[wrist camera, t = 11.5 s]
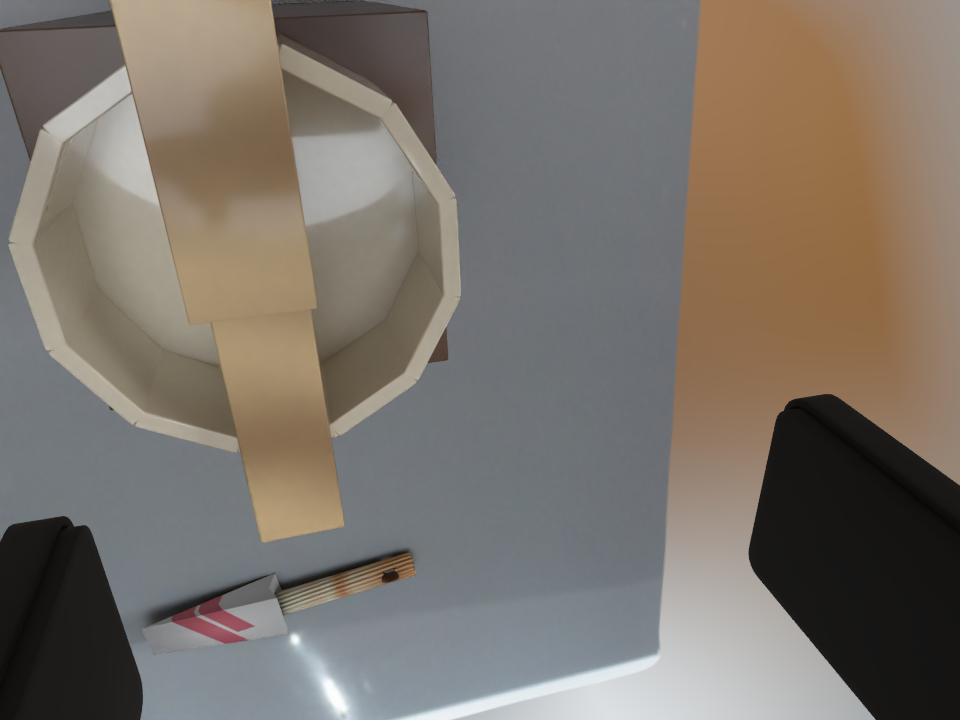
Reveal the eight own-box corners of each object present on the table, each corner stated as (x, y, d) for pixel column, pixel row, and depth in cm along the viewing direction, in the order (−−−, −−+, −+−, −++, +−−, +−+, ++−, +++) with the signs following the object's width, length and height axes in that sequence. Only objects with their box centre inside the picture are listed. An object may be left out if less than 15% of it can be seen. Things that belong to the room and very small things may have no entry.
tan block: (113, -83, 17) (84, -96, 14) (257, -86, 17) (255, -98, 15) (255, 525, 25) (254, 588, 22) (348, 508, 26) (357, 566, 23)
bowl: (7, 44, 21) (-60, 60, 17) (416, 24, 24) (449, 33, 19) (118, 400, 27) (90, 479, 23) (438, 353, 29) (467, 416, 25)
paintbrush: (136, 639, 50) (413, 557, 55) (140, 610, 53) (406, 534, 57) (153, 675, 52) (420, 594, 57) (156, 646, 55) (413, 570, 59)
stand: (107, 11, 36) (-13, 30, 21) (364, 0, 39) (427, 10, 24) (167, 256, 42) (110, 411, 27) (386, 232, 45) (448, 360, 30)
